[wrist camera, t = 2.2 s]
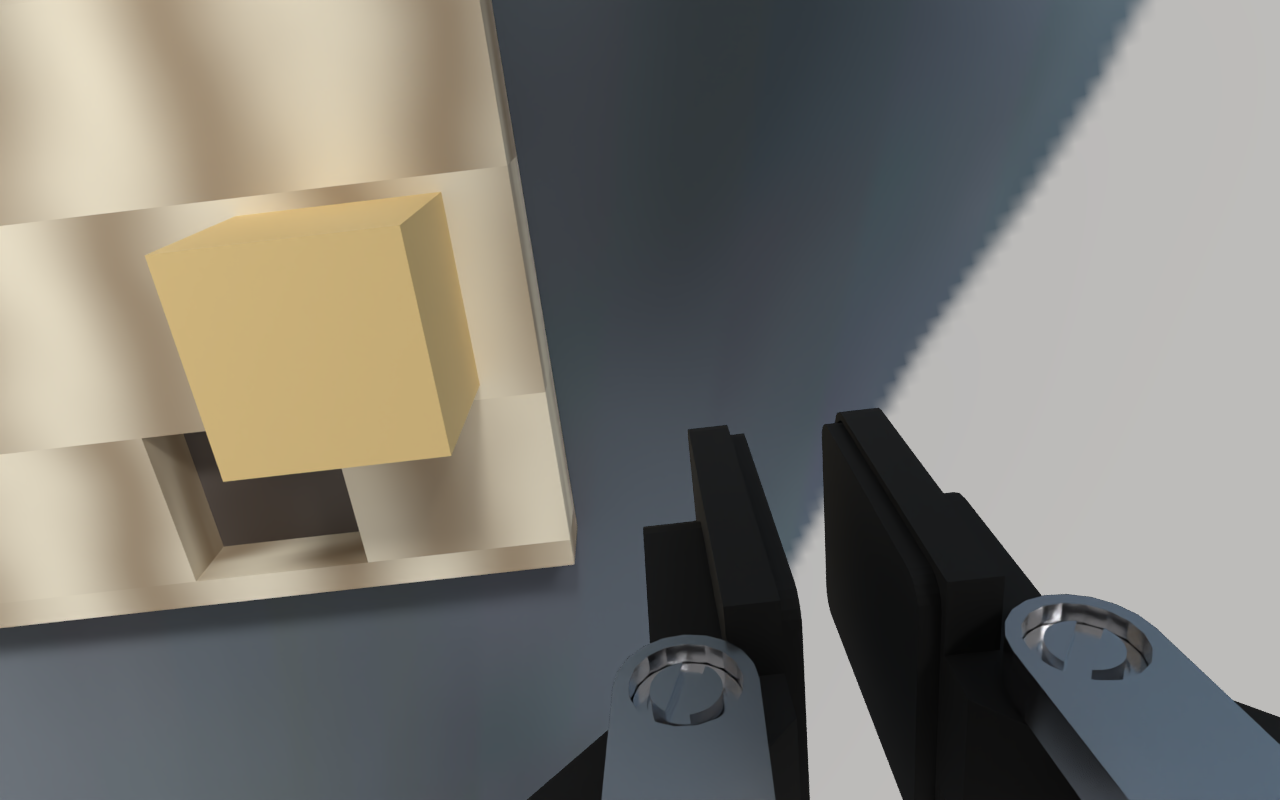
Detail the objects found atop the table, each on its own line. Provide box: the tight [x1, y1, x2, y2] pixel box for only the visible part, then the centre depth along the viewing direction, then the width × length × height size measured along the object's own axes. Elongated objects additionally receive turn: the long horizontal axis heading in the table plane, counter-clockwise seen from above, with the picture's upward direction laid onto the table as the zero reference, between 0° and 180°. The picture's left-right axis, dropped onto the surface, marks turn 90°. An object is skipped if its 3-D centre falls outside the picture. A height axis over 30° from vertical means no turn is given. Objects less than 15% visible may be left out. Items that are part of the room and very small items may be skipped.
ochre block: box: [145, 192, 480, 482], centre depth 23 cm, size 6×6×5 cm
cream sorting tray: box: [0, 0, 577, 628], centre depth 25 cm, size 29×20×6 cm
